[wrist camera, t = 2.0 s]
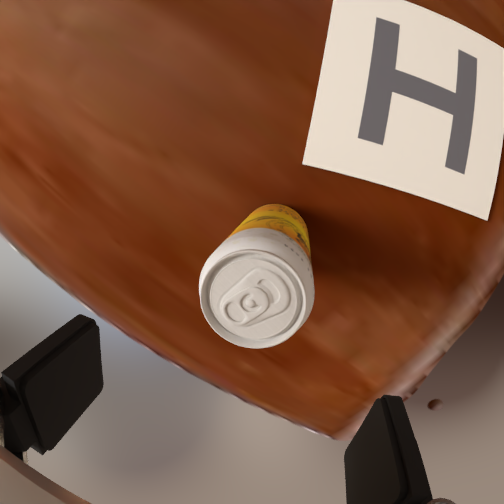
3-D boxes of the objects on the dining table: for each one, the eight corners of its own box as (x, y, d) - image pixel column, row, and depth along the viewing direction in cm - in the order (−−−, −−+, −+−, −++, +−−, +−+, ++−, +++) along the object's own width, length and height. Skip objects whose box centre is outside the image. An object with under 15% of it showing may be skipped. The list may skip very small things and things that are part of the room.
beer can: (320, 243, 29) (338, 318, 15) (268, 277, 31) (241, 371, 16) (282, 189, 28) (265, 215, 14) (230, 227, 30) (169, 286, 16)
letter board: (335, -16, 21) (336, -19, 21) (503, 52, 20) (506, 50, 19) (302, 163, 27) (302, 163, 26) (483, 219, 26) (487, 220, 25)
